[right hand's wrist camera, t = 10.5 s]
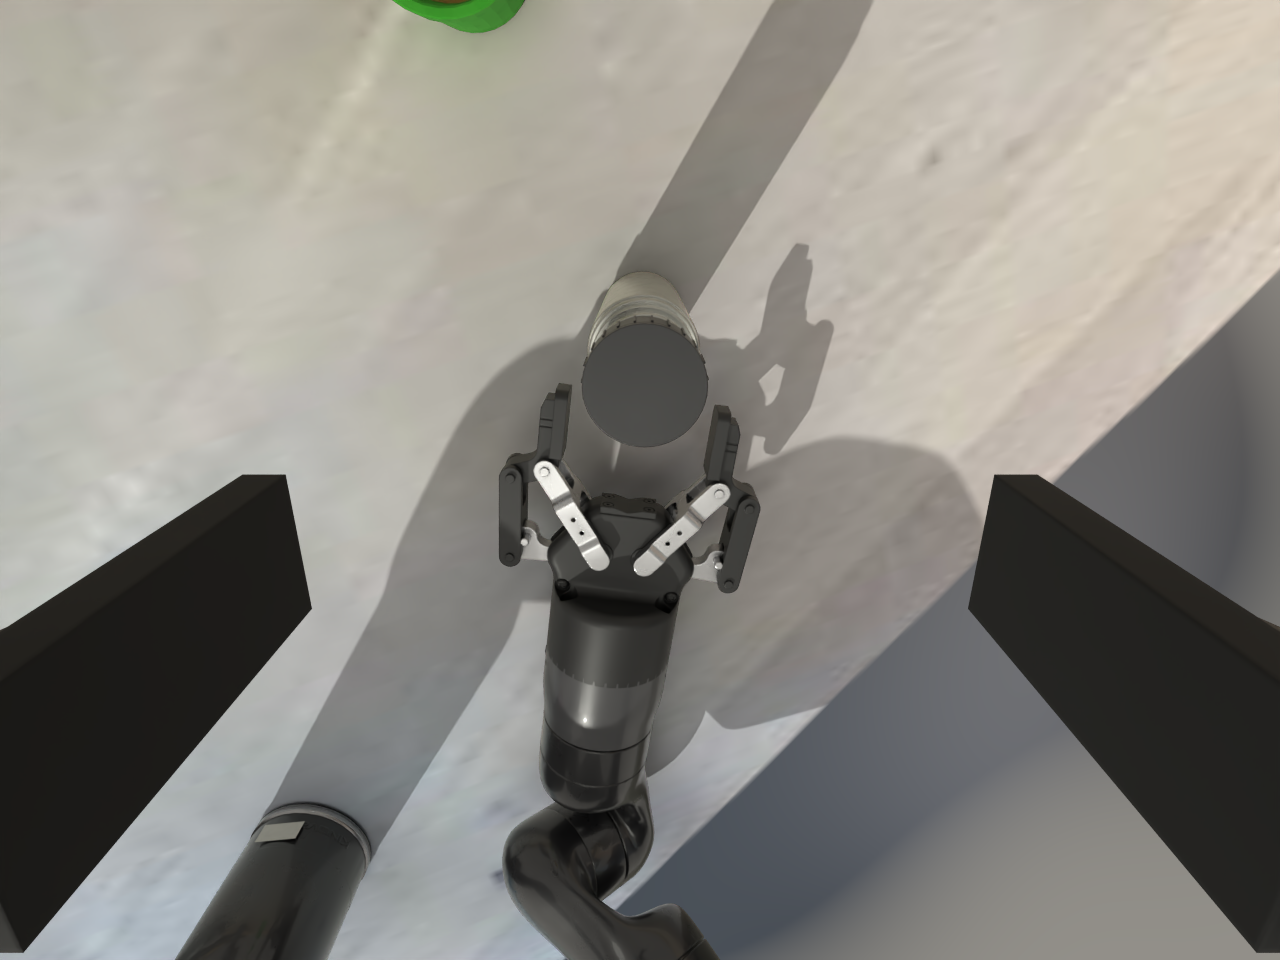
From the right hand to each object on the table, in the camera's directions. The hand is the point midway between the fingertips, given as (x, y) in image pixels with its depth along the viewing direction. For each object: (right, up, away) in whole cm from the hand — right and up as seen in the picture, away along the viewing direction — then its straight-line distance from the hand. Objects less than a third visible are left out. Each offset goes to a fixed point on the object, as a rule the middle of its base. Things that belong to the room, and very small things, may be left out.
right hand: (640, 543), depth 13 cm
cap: (0, +4, +11) cm, 12 cm away
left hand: (0, +6, +24) cm, 25 cm away
